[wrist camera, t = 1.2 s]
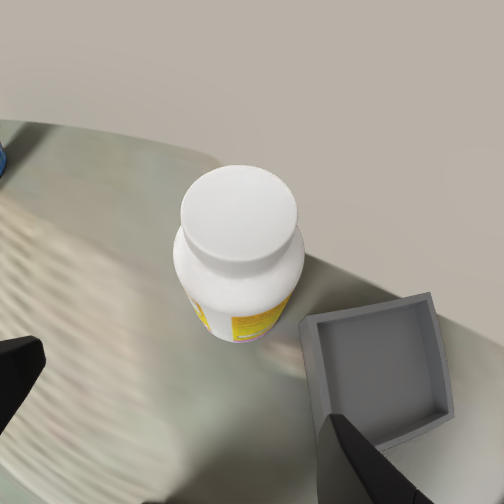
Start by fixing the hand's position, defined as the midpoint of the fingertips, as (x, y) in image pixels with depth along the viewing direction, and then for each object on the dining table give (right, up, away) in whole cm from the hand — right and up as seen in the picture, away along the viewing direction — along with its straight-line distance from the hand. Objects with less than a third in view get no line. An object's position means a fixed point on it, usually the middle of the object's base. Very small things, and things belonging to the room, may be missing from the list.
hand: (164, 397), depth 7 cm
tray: (+12, -6, +13) cm, 19 cm away
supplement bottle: (+1, 0, +16) cm, 16 cm away
